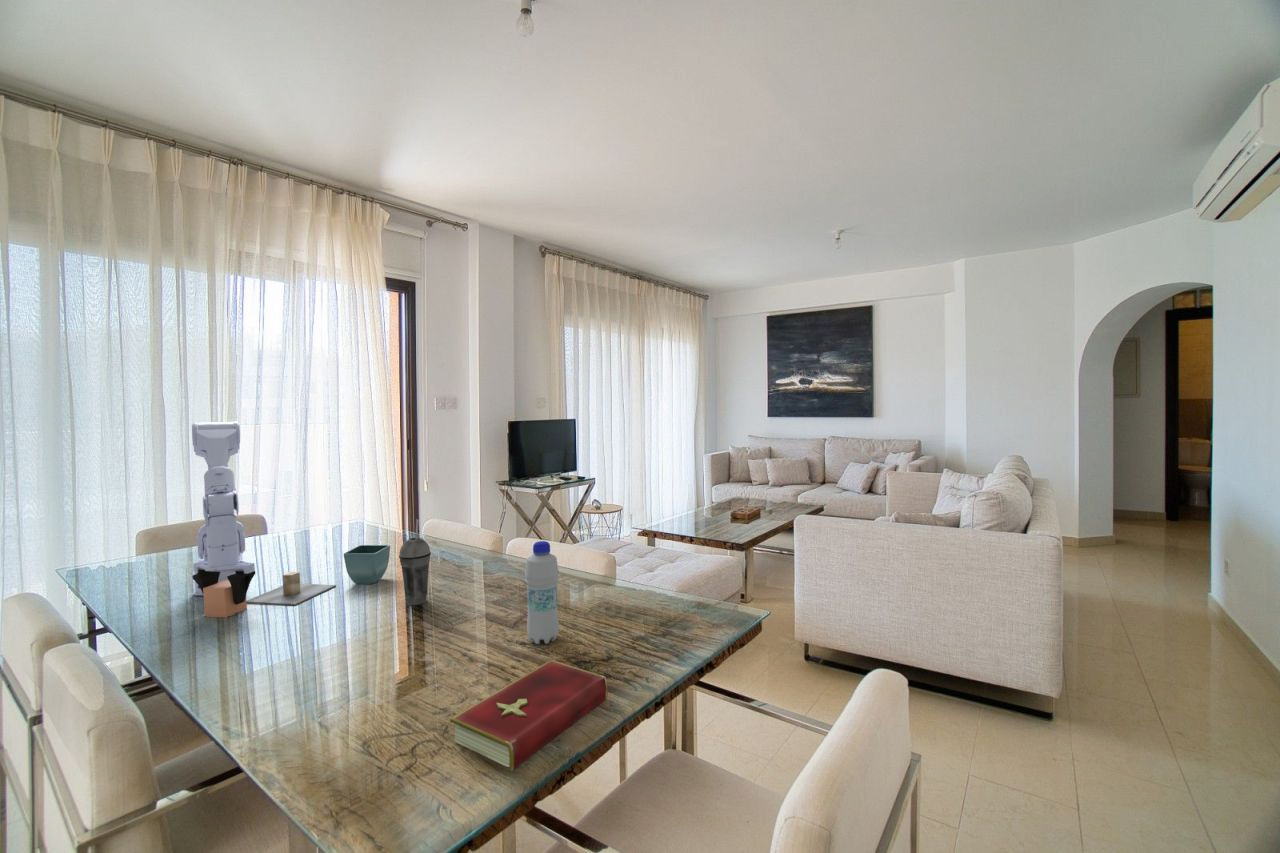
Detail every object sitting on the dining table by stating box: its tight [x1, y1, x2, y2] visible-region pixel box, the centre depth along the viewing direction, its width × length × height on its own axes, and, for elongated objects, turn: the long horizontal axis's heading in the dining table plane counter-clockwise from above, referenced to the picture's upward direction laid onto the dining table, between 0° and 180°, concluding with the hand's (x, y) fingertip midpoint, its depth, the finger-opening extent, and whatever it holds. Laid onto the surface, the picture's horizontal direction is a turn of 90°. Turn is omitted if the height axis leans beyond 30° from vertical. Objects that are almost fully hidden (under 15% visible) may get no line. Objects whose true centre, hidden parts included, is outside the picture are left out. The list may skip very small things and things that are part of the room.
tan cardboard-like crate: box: [203, 580, 248, 619], centre depth 131 cm, size 6×6×7 cm
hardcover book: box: [449, 659, 609, 772], centre depth 84 cm, size 12×21×4 cm, turn 147°
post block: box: [246, 571, 337, 607], centre depth 142 cm, size 14×14×5 cm
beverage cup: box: [398, 518, 432, 606], centre depth 135 cm, size 7×7×20 cm
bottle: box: [524, 540, 560, 645], centre depth 112 cm, size 7×7×20 cm
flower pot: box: [343, 544, 391, 585], centre depth 152 cm, size 9×9×9 cm
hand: (225, 602), depth 131 cm, fingers open, 7 cm apart
